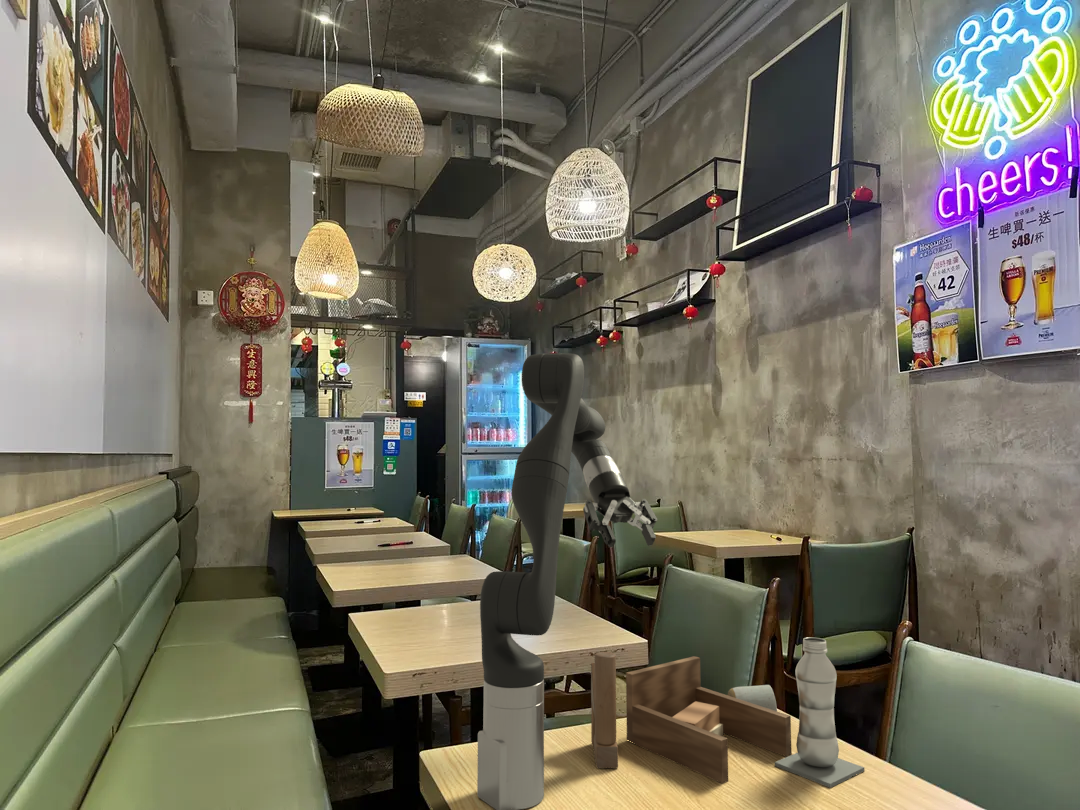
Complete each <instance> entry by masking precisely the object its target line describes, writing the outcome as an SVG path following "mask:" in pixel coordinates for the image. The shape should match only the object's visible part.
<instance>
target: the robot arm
mask: <svg viewBox="0 0 1080 810" xmlns="http://www.w3.org/2000/svg"><path fill="white" fill-rule="evenodd" d="M584 384H585V365H584V361H583V359H582V358H581V357H580V356H579V355H578V354H577V353H576V354H575V353H568V352H564V353H563V352H562V353H561V352H559V353H535V354H531V355H529V356H527V357H526V359H525V360H524V362H523V365H522V369H521V386H522V391H523V393H524V395H525V396H526V398H527V400H528V401H529V402H531V403H533V404H534V405H536V406H538V407H539V408H541V409H542V410H544V411H545V412H547V413H548V414H550V415H551V416H550V418H549V419H548V420H547V422H546V423H545V424H544V426H543V427H541V429H540V430H539V431H537V433H536V434H535V435H534V436H533V437H532V438H531V439H530V440H529V441H528V443H527V444H526V445H525V446H524V447H523V449H522V451H521V452H520V453H519V455H518V457H517V459H516V464H515V469H514V474H513V479H512V485H511V500H512V503H513V506H514V508H515V510H516V513H517V515H518V517H519V519H520V522H521V523H522V525H523V527H524V529H525V531H526V534H527V536H528V538H529V541H530V544H531V548H532V553H533V560H532V561H533V563H532V569H531V572H525V571H524V572H522V571H505V570H504V571H501V570H498V571H497V570H496V571H492V572H490V573H488V574H487V575H486V577H485V578H484V580H483V583H482V586H481V591H480V599H479V601H480V602H479V611H480V613H479V614H480V633H481V635H480V636H481V661H482V667H483V708H482V710H483V714H482V715H483V716H482V717H483V719H482V721H483V725H482V727H483V728H482V730H479V731H478V733H477V775H476V776H477V778H476V779H477V786H476V791H477V792H476V793H477V795H476V796H477V797H478V798H479V799H480V800H482V801H483V802H484V803H486V804H487V805H489V806H490V807H491V808H493V809H494V810H524V809H529V808H532V807H534V806H537V805H538V804H540V803H541V802H542V801H543V799H544V797H545V722H544V721H545V665H544V661H543V659H542V658H541V657H539V656H538V655H537V654H535V653H534V652H531V651H529V650H527V649H525V648H523V646H521V645H520V644H518V643H517V642H516V640H515V639H514V638H513V637H512V635H522V636H543V635H545V634H546V633H547V632H548V631H549V629H550V628H551V627H550V626H551V624H552V621H553V616H554V610H555V603H556V599H555V598H556V589H557V572H558V571H557V570H558V561H559V560H558V559H559V547H560V536H561V529H562V524H563V516H564V510H565V506H566V505H565V504H566V499H567V494H568V493H567V492H568V485H569V477H570V471H571V470H570V469H571V461H572V460H571V457H572V454H573V456H574V457H575V458H576V460H577V462H578V463H579V466H580V468H581V471H582V474H583V477H584V481H585V483H586V486H587V489H588V490H589V494H590V495H591V498H592V500H591V499H587V500H586V502H585V504H584V506H583V509H582V510H583V514H584V517H585V519H586V524H587V526H588V529H589V531H591V532H593V531H598V532H599V533H600V534H601V536H602V539H603V542H604V544H605V545H607V546H608V548H614V546H615V544H616V541H617V539H616V537H615V535H614V533H613V530H612V528H611V525H609V523H610V522H612V523H613V524H617V523H622V524H624V523H625V524H626V523H628V524H629V525H631V526H632V527H637V528H638V529H639V530H641V535H642V536H643V539H644V540H645V542H646V544H647V546H652V545H653V544H654V543H655V540H656V539H657V537H656V534H655V531H654V530H653V528H654V527H655V524H656V523H657V522H658V518H657V516H656V514H655V512H654V510H653V508H652V507H651V505H650V503H649V501H648V500H647V499H646V498H642V499H641V501H634V500H633V498H631V494H630V489H629V488H628V485H627V484H626V481H625V479H624V477H623V475H622V473H621V471H620V468H619V467H618V465H617V463H616V462H615V460H614V458H613V457H612V454H611V452H610V451H609V448H608V446H607V444H606V443H605V442H604V441H602V440H600V438H601V437H603V435H604V434H605V431H606V423H605V420H604V418H603V417H602V415H601V414H600V412H598V411H597V410H596V409H595V408H593V407H591V406H589V405H587V404H586V402H585V400H584V399H583V398H582V395H583V389H584ZM597 512H598V513H599V514H600V515H602V516H603V519H602V520H599V517H598V515H597ZM633 515H634V518H632V517H633Z"/></svg>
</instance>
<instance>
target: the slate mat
mask: <svg viewBox="0 0 1080 810" xmlns="http://www.w3.org/2000/svg"><path fill="white" fill-rule="evenodd" d="M774 767H776V768H779V769H782V770H785V771H787V772H790V773H792V774H794V775H797V776H799V777H802V778H804V779H807V780H809V781H812V782H815V783H817V784H819V785H822V786H825V787H827V788H829V789H830V788H834V787H836V786H837V785H839V784H841V783H843V782H846V781H847V780H850V779H851V777H852V776H854V777H855V775H856V774H858V775H859V773H860V774H861V772H862V773H863V771H864V772H865V767H864V766H861V765H858V764H856V763H853V762H850V761H848V760H846V759H843V758H839V757H838V760H837V761H836V763H835V764H834V765H833V766H830V767H816V766H812V765H808V764H806V763H804V762H803V761H802V760H801V759H800V757H799V756H798V752H796V753H792V755H790V756H787V757H786V756H785V757H783V758H781V759H779V760H777V761H774ZM856 776H857V775H856ZM849 778H850V779H849ZM852 778H853V777H852Z"/></svg>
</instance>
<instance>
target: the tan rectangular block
mask: <svg viewBox="0 0 1080 810" xmlns="http://www.w3.org/2000/svg"><path fill="white" fill-rule="evenodd" d="M673 718H675V719H678V720H681V721H683V722H686V723H688V724H691V725H694V726H696V727H699V728H701V729H704V730H707V731H709V732H712V733H715V734H717V735H720V736H722V737H724V733H723V724H721V723H720V719H719V706H716V705H711V704H706V703H701V702H696V701H695V702H694V703H692V704H691V705H689V706H688V707H686V708H685V709H683V710H682V711H681V712H679V713H678V714H676V715H675V716H673Z"/></svg>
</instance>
